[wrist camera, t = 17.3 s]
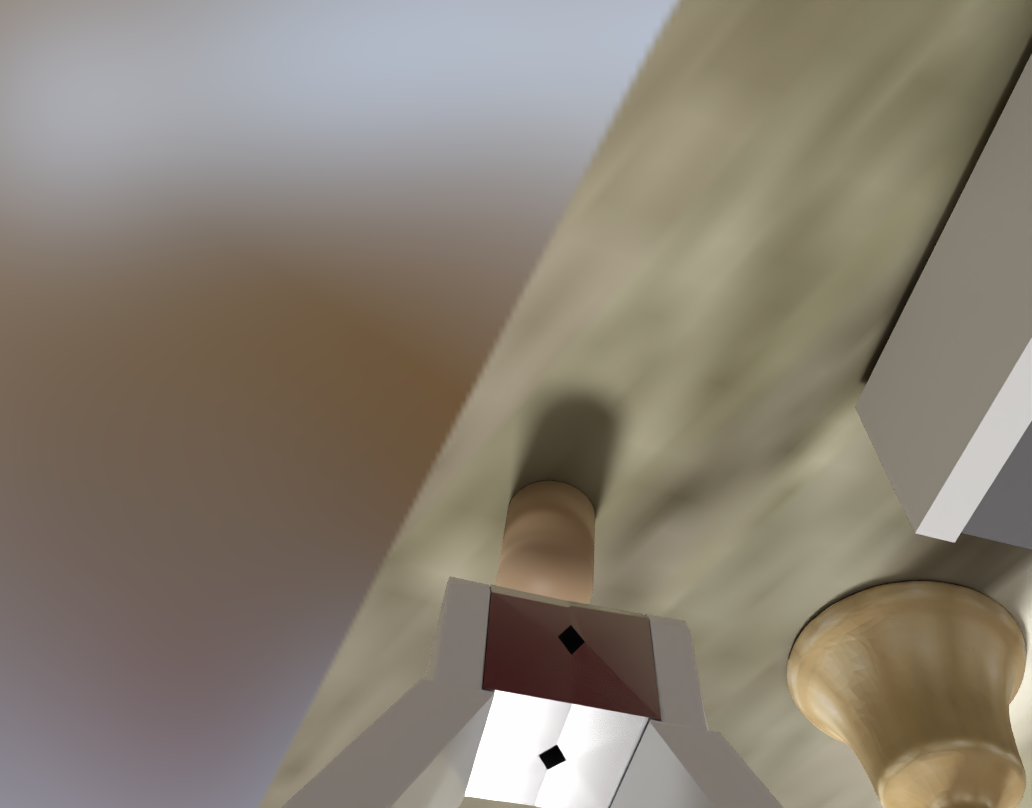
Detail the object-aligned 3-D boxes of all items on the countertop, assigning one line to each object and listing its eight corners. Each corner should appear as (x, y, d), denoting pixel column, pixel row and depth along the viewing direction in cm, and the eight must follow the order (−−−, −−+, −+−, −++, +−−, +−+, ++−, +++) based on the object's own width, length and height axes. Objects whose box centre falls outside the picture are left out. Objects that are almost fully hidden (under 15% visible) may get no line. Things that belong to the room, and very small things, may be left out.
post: (499, 539, 31) (487, 610, 28) (518, 471, 29) (507, 538, 26) (582, 558, 31) (579, 630, 28) (605, 492, 29) (604, 561, 26)
